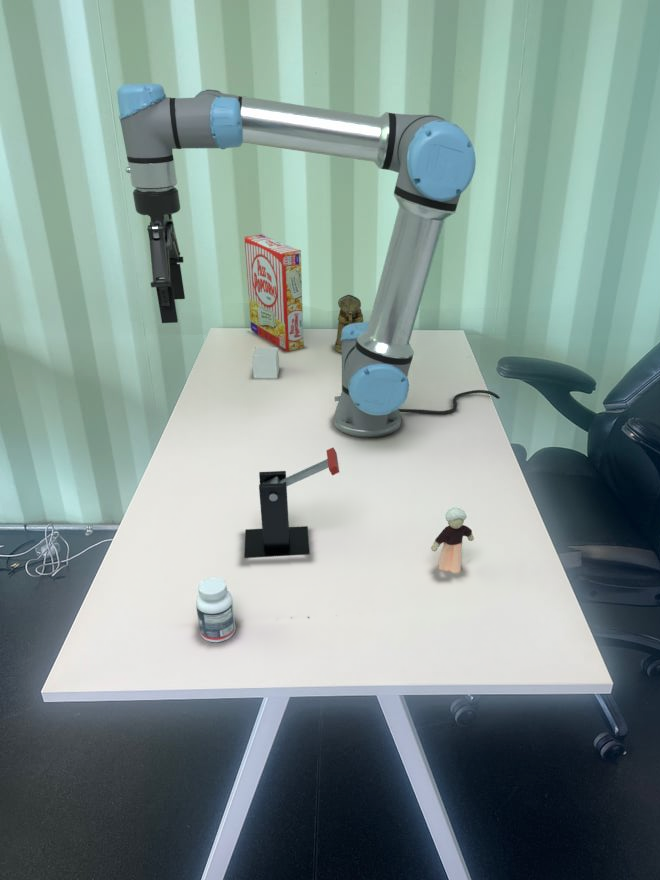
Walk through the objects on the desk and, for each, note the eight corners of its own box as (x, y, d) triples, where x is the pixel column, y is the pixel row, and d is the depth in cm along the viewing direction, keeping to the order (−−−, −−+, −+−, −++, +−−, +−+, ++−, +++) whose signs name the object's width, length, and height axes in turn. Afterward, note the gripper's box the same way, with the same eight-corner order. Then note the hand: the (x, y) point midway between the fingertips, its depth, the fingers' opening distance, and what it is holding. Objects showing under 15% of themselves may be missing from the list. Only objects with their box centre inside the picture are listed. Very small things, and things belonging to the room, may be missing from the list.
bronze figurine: (332, 360, 205) (331, 294, 196) (335, 342, 217) (334, 279, 207) (365, 361, 205) (365, 295, 196) (366, 343, 217) (367, 280, 207)
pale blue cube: (279, 369, 199) (278, 347, 196) (277, 378, 194) (275, 356, 191) (256, 369, 199) (254, 347, 196) (253, 378, 194) (252, 355, 191)
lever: (338, 455, 127) (331, 444, 126) (341, 474, 122) (334, 463, 121) (269, 487, 129) (262, 476, 128) (269, 507, 124) (262, 496, 122)
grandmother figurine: (441, 585, 124) (446, 521, 117) (426, 573, 127) (430, 510, 120) (476, 569, 128) (483, 506, 121) (461, 558, 130) (467, 495, 124)
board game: (250, 331, 223) (243, 236, 208) (268, 327, 226) (263, 233, 212) (286, 352, 209) (281, 252, 195) (305, 348, 213) (302, 249, 198)
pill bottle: (202, 620, 116) (196, 574, 111) (237, 618, 116) (232, 572, 111) (198, 644, 111) (191, 597, 106) (234, 642, 112) (228, 595, 107)
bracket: (307, 531, 136) (305, 464, 129) (309, 559, 129) (307, 490, 122) (245, 534, 135) (239, 467, 127) (244, 563, 128) (237, 493, 120)
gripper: (142, 175, 139) (161, 290, 151) (120, 203, 118) (144, 334, 130) (184, 174, 140) (199, 289, 151) (169, 201, 119) (188, 332, 131)
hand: (174, 310), depth 141 cm, fingers open, 13 cm apart
